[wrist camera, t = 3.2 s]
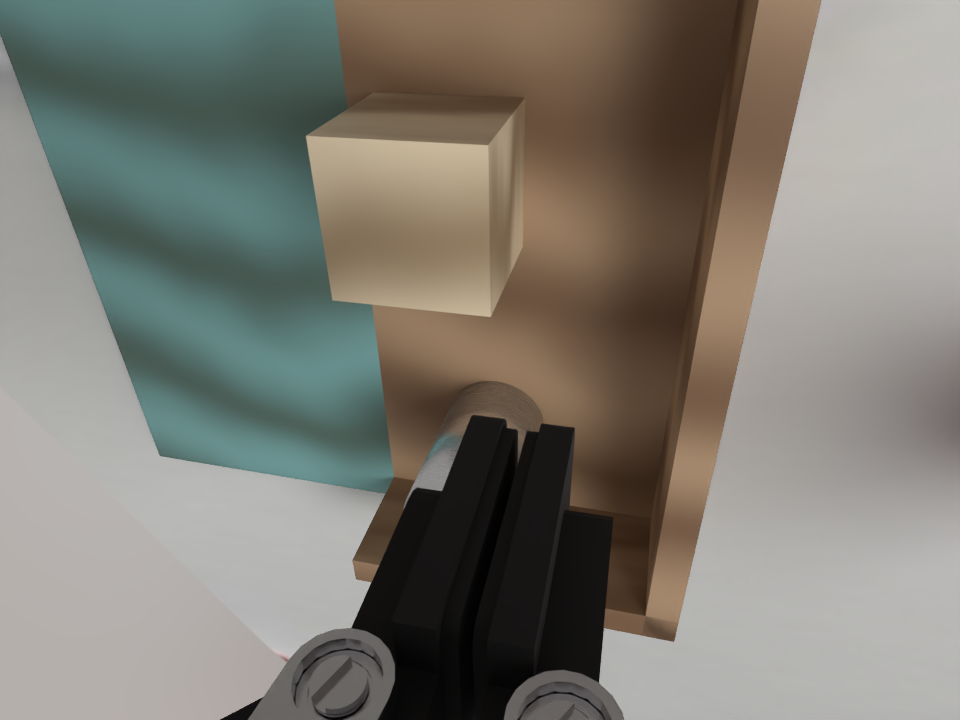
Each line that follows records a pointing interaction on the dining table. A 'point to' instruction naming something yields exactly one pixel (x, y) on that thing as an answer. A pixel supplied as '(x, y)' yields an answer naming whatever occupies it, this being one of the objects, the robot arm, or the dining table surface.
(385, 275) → the birch block
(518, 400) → the steel peg
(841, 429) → the dining table surface
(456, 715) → the robot arm
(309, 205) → the cubby
